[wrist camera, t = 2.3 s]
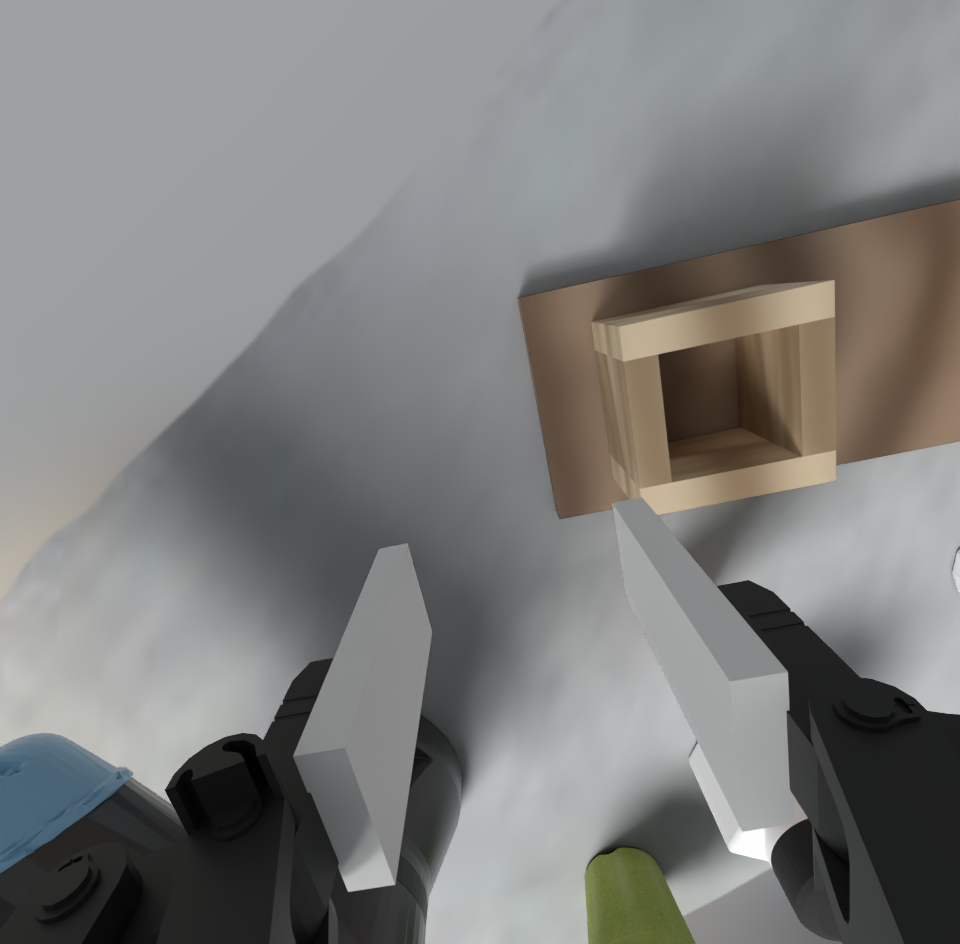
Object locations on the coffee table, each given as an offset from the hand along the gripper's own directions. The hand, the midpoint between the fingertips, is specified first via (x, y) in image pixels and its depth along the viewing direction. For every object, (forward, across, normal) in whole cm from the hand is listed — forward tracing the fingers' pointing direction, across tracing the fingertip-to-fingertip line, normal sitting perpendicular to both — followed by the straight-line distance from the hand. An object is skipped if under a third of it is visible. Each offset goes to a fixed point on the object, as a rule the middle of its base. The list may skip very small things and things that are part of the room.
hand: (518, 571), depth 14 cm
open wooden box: (+17, +10, 0) cm, 20 cm away
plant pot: (+19, +2, -39) cm, 43 cm away
